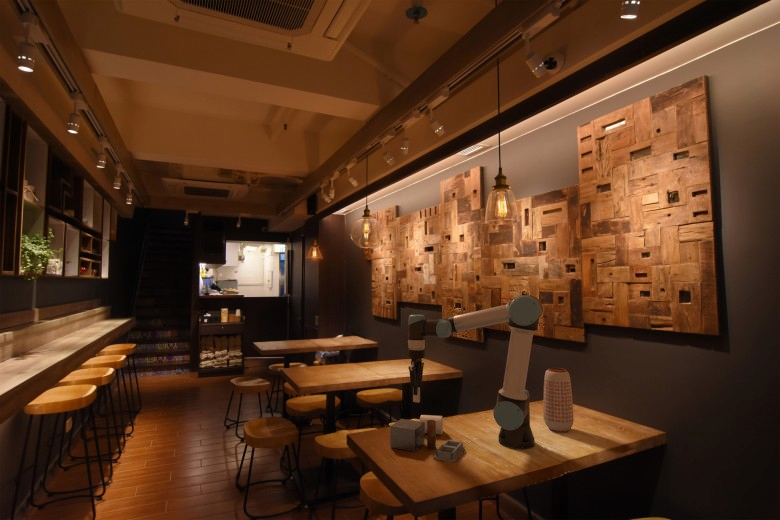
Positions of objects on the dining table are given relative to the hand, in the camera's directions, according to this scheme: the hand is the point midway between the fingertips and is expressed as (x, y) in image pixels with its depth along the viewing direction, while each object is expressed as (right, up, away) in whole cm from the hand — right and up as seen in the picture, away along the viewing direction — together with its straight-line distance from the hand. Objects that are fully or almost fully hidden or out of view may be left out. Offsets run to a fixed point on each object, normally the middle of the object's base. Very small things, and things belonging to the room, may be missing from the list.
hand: (416, 401), depth 191 cm
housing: (-4, -15, -10) cm, 19 cm away
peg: (+6, -15, -13) cm, 21 cm away
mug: (+8, -17, +7) cm, 20 cm away
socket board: (+12, -15, -19) cm, 27 cm away
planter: (+69, -17, +11) cm, 71 cm away
